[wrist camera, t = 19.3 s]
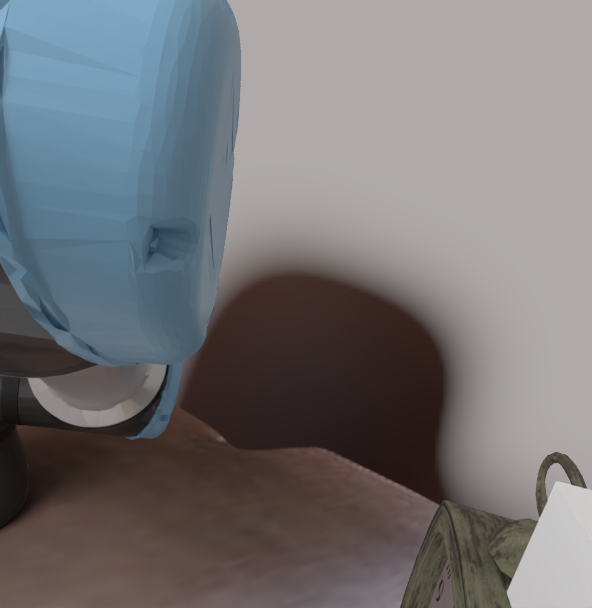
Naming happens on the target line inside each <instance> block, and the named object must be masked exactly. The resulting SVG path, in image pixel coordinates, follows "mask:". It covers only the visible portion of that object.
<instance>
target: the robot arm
mask: <svg viewBox="0 0 592 608" xmlns="http://www.w3.org/2000/svg"><path fill="white" fill-rule="evenodd" d="M240 80H241V49H240V38H239V31H238V27H237V23H236V20H235V17H234V14H233V11H232V9H231V8H230V5H229V4H228V2H227V0H0V527H2V526H3V525H5V524H6V523H7V522H9V521H10V520H11V519H12V518H13V517H14V516H15V515H16V514H17V513H18V512H19V511H20V510H21V508H22V507H23V505H24V504H25V502H26V500H27V497H28V493H29V484H30V467H29V463H28V461H27V459H26V457H25V453H24V450H23V447H22V443H21V440H20V437H19V434H18V431H17V428H16V425H28V426H37V427H45V428H54V429H63V430H72V431H81V432H89V433H98V434H107V435H116V436H124V438H127V439H131V440H134V439H138V438H155V437H158V436H159V435H161V434H162V433H163V432H164V430H165V429H166V427H167V425H168V423H169V420H170V415H171V413H172V411H173V408H174V405H175V401H176V397H177V393H178V388H179V383H180V377H181V370H182V362H183V361H184V360H186V359H188V358H190V357H191V356H193V355H194V353H196V351H197V350H198V349H199V348H200V347H201V346H202V344H203V342H204V340H205V337H206V329H207V325H208V323H209V321H210V318H211V315H212V312H213V309H214V303H215V299H216V294H217V289H218V281H219V273H220V269H221V263H222V258H223V252H224V244H225V236H226V230H227V221H228V215H229V208H230V199H231V190H232V181H233V167H234V146H235V140H236V134H237V127H238V116H239V101H240ZM507 595H508V598H509V601H510V604H511V607H512V608H592V490H589V489H585V488H582V487H578V486H574V485H570V484H565V483H561V482H558V481H556V483H555V485H554V487H553V490H552V492H551V494H550V496H549V498H548V501H547V503H546V505H545V507H544V510H543V512H542V514H541V516H540V519H539V521H538V523H537V525H536V528H535V530H534V532H533V534H532V537H531V539H530V541H529V543H528V546H527V548H526V550H525V552H524V554H523V557H522V559H521V561H520V563H519V566H518V568H517V570H516V572H515V575H514V577H513V579H512V581H511V584H510V586H509V588H508V590H507Z"/></svg>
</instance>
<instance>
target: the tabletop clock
mask: <svg viewBox="0 0 592 608" xmlns="http://www.w3.org/2000/svg"><path fill="white" fill-rule="evenodd" d="M553 463H559V464H561V466H562V467H563V469H564V470H565V472H566V474H567V476H568V478H569V479H570V482H571V484H572V485H574V486H578V487H582V488H585V489H587V487H586V485H585V482H584V479H583V477H582V475H581V473H580V472H579V470H578V468H577V466H576V465H575V464H574V462H573V461H572V460H571V459H570V458H569V457H568V456H567V455H565V454H562V453H558V452H555V453H552V454H550V455H548V456H547V457H546V458H545V460H544V461H543V463H542V464H541V466H540V469H539V473H538V478H537V485H536V501H537V509H538V513H539V517H540V516H541V514H542V512H543V510H544V507H545V505H546V503H547V501H548V500H547V496H546V488H545V477H546V474H547V470H548V469H549V467H550V466H551V465H552V464H553ZM537 523H538V521H535V520H532V519H521V520H512V519H509V518H505V517H502V516H498V515H495V514H491V513H488V512H484V511H481V510H477V509H474V508H470V507H467V506H463V505H460V504H456V503H452V502H450V501H446V500H443V502H442V503H441V505H440V506H439V508H438V509H437V511H436V513H435V515H434V517H433V520H432V522H431V524H430V526H429V529H428V531H427V534H426V536H425V538H424V541H423V543H422V546H421V548H420V551H419V553H418V556H417V558H416V561H415V564H414V567H413V570H412V573H411V576H410V579H409V582H408V585H407V587H406V590H405V594H404V597H403V600H402V603H401V607H400V608H512V607H511V604H510V601H509V598H508V595H507V590H508V588H509V586H510V584H511V581H512V579H513V577H514V575H515V572H516V570H517V568H518V566H519V563H520V561H521V559H522V557H523V554H524V552H525V550H526V548H527V546H528V543H529V541H530V539H531V537H532V534H533V532H534V530H535V528H536V525H537Z"/></svg>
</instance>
